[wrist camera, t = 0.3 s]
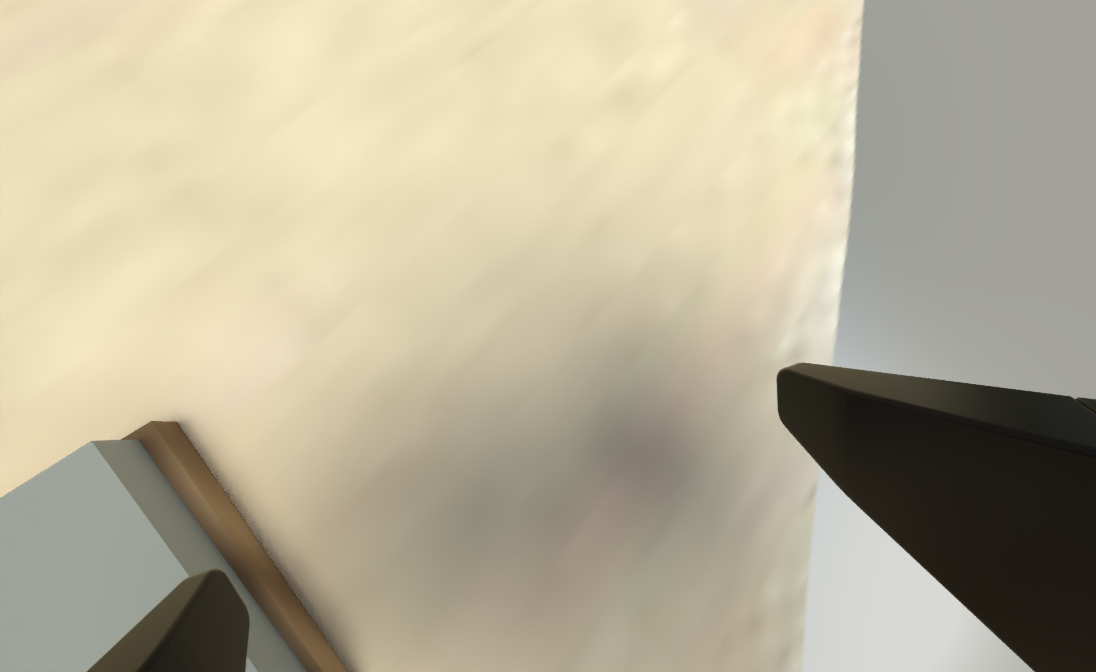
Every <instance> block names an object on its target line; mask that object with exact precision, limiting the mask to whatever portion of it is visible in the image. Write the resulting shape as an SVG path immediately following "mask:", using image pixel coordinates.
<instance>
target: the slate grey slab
mask: <svg viewBox="0 0 1096 672" xmlns="http://www.w3.org/2000/svg"><path fill="white" fill-rule="evenodd" d="M213 568H218V569H221V570H223V571H224V572H225V573H226V575H227V576H228V578H229V579H230V581H231V582H232V584H233V586H234V587H235V589H236V590H237V592H238V594H239V595H240V597H241V598H242V600H243V602H244V603H245V605H246V607H247V609H248V612H249V617H250V629H249V640H248V650H247V661H246V672H307V671H306V670H305V668H304V667H303V666H302V664H301V663H300V661H299V660H298V659H297V657H296V656H295V655H294V653H293V652H292V650H291V649H290V648H289V646H288V645H287V644H286V642H285V641H284V639H283V638H282V637H281V635H280V634H279V633H278V631H277V630H276V628H275V627H274V626H273V624H272V623H271V622H270V620H269V619H268V617H267V616H266V615H265V613H264V612H263V611H262V609H261V608H260V606H259V605H258V604H257V602H256V601H255V599H254V598H253V597H252V595H251V594H250V593H249V591H248V590H247V588H246V587H245V586H244V584H243V583H242V582H241V580H240V579H239V577H238V576H237V575H236V573H235V572H234V571H233V569H232V568H231V566H230V565H229V564H228V562H227V561H226V560H225V558H224V557H223V555H222V554H221V553H220V551H219V550H218V549H217V547H216V546H215V544H214V543H213V542H212V540H211V539H210V538H209V536H208V535H207V533H206V532H205V531H204V529H203V528H202V527H201V525H200V524H199V522H198V521H197V520H196V518H195V517H194V516H193V514H192V513H191V511H190V510H189V509H188V507H187V506H186V504H185V503H184V502H183V500H182V499H181V498H180V496H179V495H178V493H177V492H176V491H175V489H174V488H173V487H172V485H171V484H170V482H169V481H168V480H167V478H166V477H165V476H164V474H163V473H162V471H161V470H160V469H159V467H158V466H157V465H156V463H155V462H154V460H153V459H152V458H151V456H150V455H149V454H148V452H147V451H146V449H145V448H144V447H143V445H142V444H141V443H140V441H139V440H108V441H91V442H89V443H87V444H86V445H84V446H83V447H81V448H79V449H78V450H76V451H75V452H73V453H72V454H70V455H68V456H67V457H65V458H64V459H62V460H60V461H59V462H57V463H56V464H54V465H52V466H51V467H49V468H48V469H46V470H44V471H43V472H41V473H40V474H38V475H36V476H35V477H33V478H32V479H30V480H28V481H27V482H25V483H24V484H22V485H20V486H19V487H17V488H16V489H14V490H12V491H11V492H9V493H8V494H6V495H4V496H3V497H1V498H0V672H87V671H88V670H89V669H90V668H91V667H92V666H93V665H94V664H95V663H96V662H97V661H98V660H99V659H100V658H101V657H102V656H103V655H105V654H106V653H107V652H108V651H109V650H110V649H111V648H112V647H113V646H114V645H115V644H116V643H117V642H118V641H119V640H120V639H121V638H123V637H124V636H125V635H126V634H127V633H128V632H129V631H130V630H131V629H132V628H133V627H134V626H135V625H136V624H137V623H138V622H139V621H141V620H142V619H143V618H144V617H145V616H146V615H147V614H148V613H149V612H150V611H151V610H152V609H153V608H154V607H155V606H156V605H158V604H159V603H160V602H161V601H162V600H163V599H164V598H165V597H166V596H167V595H168V594H169V593H170V592H171V591H172V590H173V589H174V588H176V587H177V586H178V585H179V584H180V583H181V582H182V581H183V580H184V579H186V578H188V577H190V576H193V575H196V574H199V573H202V572H204V571H207V570H210V569H213Z"/></svg>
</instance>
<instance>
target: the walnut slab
mask: <svg viewBox="0 0 1096 672" xmlns="http://www.w3.org/2000/svg"><path fill="white" fill-rule="evenodd" d="M121 440H139V441H140V443H141V444H142V445H143V447H144V448H145V449H146V451H147V452H148V454H149V455H150V456H151V458H152V459H153V460H154V462H155V463H156V465H157V466H158V467H159V469H160V470H161V471H162V473H163V474H164V476H165V477H166V478H167V480H168V481H169V482H170V484H171V485H172V487H173V488H174V489H175V491H176V492H177V493H178V495H179V496H180V498H181V499H182V500H183V502H184V503H185V504H186V506H187V507H188V509H189V510H190V511H191V513H192V514H193V516H194V517H195V518H196V520H197V521H198V522H199V524H200V525H201V527H202V528H203V529H204V531H205V532H206V533H207V535H208V536H209V538H210V539H211V540H212V542H213V543H214V544H215V546H216V547H217V549H218V550H219V551H220V553H221V554H222V555H223V557H224V558H225V560H226V561H227V562H228V564H229V565H230V566H231V568H232V569H233V571H234V572H235V573H236V575H237V576H238V577H239V579H240V580H241V582H242V583H243V584H244V586H245V587H246V588H247V590H248V591H249V593H250V594H251V595H252V597H253V598H254V599H255V601H256V602H257V604H258V605H259V606H260V608H261V609H262V611H263V612H264V613H265V615H266V616H267V617H268V619H269V620H270V622H271V623H272V624H273V626H274V627H275V628H276V630H277V631H278V633H279V634H280V635H281V637H282V638H283V639H284V641H285V642H286V644H287V645H288V646H289V648H290V649H291V650H292V652H293V653H294V655H295V656H296V657H297V659H298V660H299V661H300V663H301V664H302V666H303V667H304V668H305V670H306V671H307V672H348V671H347V669H346V668H345V667H344V665H343V664H342V662H341V661H340V659H339V658H338V656H337V655H336V653H335V652H334V651H333V649H332V648H331V646H330V645H329V643H328V642H327V640H326V639H325V637H324V636H323V634H322V633H321V632H320V630H319V629H318V627H317V626H316V624H315V623H314V621H313V620H312V618H311V617H310V615H309V614H308V613H307V611H306V610H305V608H304V607H303V605H302V604H301V602H300V601H299V599H298V598H297V596H296V595H295V594H294V592H293V591H292V589H291V588H290V586H289V585H288V583H287V582H286V580H285V579H284V577H283V576H282V575H281V573H280V572H279V570H278V569H277V567H276V566H275V564H274V563H273V561H272V560H271V559H270V557H269V556H268V554H267V553H266V551H265V550H264V548H263V547H262V545H261V544H260V542H259V541H258V540H257V538H256V537H255V535H254V534H253V532H252V531H251V529H250V528H249V526H248V525H247V523H246V522H245V521H244V519H243V518H242V516H241V515H240V513H239V512H238V510H237V509H236V507H235V506H234V504H233V503H232V502H231V500H230V499H229V497H228V496H227V494H226V493H225V491H224V490H223V488H222V487H221V486H220V484H219V483H218V481H217V480H216V478H215V477H214V475H213V474H212V472H211V471H210V469H209V468H208V467H207V465H206V464H205V462H204V461H203V459H202V458H201V456H200V455H199V453H198V452H197V450H196V449H195V448H194V446H193V445H192V443H191V442H190V440H189V439H188V437H187V436H186V434H185V433H184V431H183V430H182V429H181V427H180V426H179V424H178V423H177V422H162V421H151V422H149V423H148V424H146V425H144V426H143V427H141V428H139V429H138V430H136V431H134V432H133V433H131V434H129V435H128V436H126V437H124V438H123V439H121Z"/></svg>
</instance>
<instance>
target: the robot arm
mask: <svg viewBox="0 0 1096 672" xmlns="http://www.w3.org/2000/svg"><path fill="white" fill-rule="evenodd" d="M777 401H778V413H779V417H780V419H781V421H782V423H783V424H784V426H785V427H786V428H787V429H788V430H789V432H790V433H791V434H792V435H793V436H794V437H795V438H796V440H797V441H798V442H799V443H800V444H801V445H802V446H803V447H804V449H805V450H806V451H807V452H808V453H809V454H810V455H811V457H812V458H813V459H814V460H815V461H816V462H817V463H818V464H819V466H820V467H821V468H822V469H823V470H824V471H825V472H826V474H827V475H828V476H829V477H830V478H831V479H832V480H833V481H834V483H836V485H837V486H838V487H839V488H840V489H841V490H842V491H843V492H844V493H845V494H846V495H847V496H848V497H849V498H850V499H851V500H852V501H853V502H854V503H855V504H856V505H857V506H858V507H859V508H860V509H862V510H863V511H864V512H865V513H866V514H867V515H868V516H869V517H870V518H871V519H872V520H873V521H874V522H875V523H876V524H877V525H879V526H880V527H881V528H882V529H883V530H884V531H885V532H886V533H887V534H888V535H889V536H890V537H891V538H892V539H893V540H895V541H896V542H897V543H898V544H899V545H900V546H901V547H902V548H903V549H904V550H905V551H906V552H907V553H909V554H910V555H911V556H912V557H913V558H914V559H915V560H916V561H917V562H918V563H919V564H920V565H921V566H922V567H923V568H924V569H926V570H927V571H928V572H929V573H930V574H931V575H932V576H933V577H934V578H935V579H936V580H937V581H938V582H939V583H941V584H942V585H943V586H944V587H945V588H946V589H947V590H948V591H949V592H950V593H951V594H952V595H953V596H954V597H955V598H957V599H958V600H959V601H960V602H961V603H962V604H963V605H964V606H965V607H966V608H967V609H968V610H969V611H971V612H972V613H973V614H974V615H975V616H976V617H977V618H978V619H979V620H980V621H981V622H982V623H983V624H984V625H985V626H986V627H988V628H989V629H990V630H991V631H992V632H993V633H994V634H995V635H996V636H997V637H998V638H999V639H1000V640H1002V642H1004V643H1005V644H1006V645H1007V646H1008V647H1009V648H1010V649H1011V650H1012V651H1013V652H1014V653H1015V654H1016V655H1017V656H1019V657H1020V658H1021V659H1022V660H1023V661H1024V662H1025V663H1026V664H1027V665H1028V666H1029V667H1030V668H1031V669H1032V670H1033V671H1035V672H1096V399H1088V398H1076V399H1074V398H1072V397H1070V396H1063V395H1055V394H1047V393H1040V392H1032V391H1023V390H1016V389H1008V388H1000V387H992V386H984V385H976V384H969V383H961V382H953V381H945V380H937V379H929V378H921V377H913V376H905V375H897V374H889V373H882V372H873V371H866V370H857V369H849V368H842V367H834V366H826V365H818V364H810V363H797V364H795V365H792V366H789V367H786V368H783V369H781V370H780V371H779V372H778V374H777ZM249 629H250V617H249V612H248V609H247V607H246V605H245V603H244V602H243V600H242V598H241V597H240V595H239V594H238V592H237V590H236V589H235V587H234V586H233V584H232V582H231V581H230V579H229V578H228V576H227V575H226V573H225V572H224V571H223V570H221V569H218V568H213V569H210V570H207V571H204V572H202V573H199V574H196V575H193V576H190V577H188V578H186V579H184V580H183V581H182V582H181V583H180V584H179V585H178V586H177V587H176V588H174V589H173V590H172V591H171V592H170V593H169V594H168V595H167V596H166V597H165V598H164V599H163V600H162V601H161V602H160V603H159V604H158V605H156V606H155V607H154V608H153V609H152V610H151V611H150V612H149V613H148V614H147V615H146V616H145V617H144V618H143V619H142V620H141V621H139V622H138V623H137V624H136V625H135V626H134V627H133V628H132V629H131V630H130V631H129V632H128V633H127V634H126V635H125V636H124V637H123V638H121V639H120V640H119V641H118V642H117V643H116V644H115V645H114V646H113V647H112V648H111V649H110V650H109V651H108V652H107V653H106V654H105V655H103V656H102V657H101V658H100V659H99V660H98V661H97V662H96V663H95V664H94V665H93V666H92V667H91V668H90V669H89V670H88V671H87V672H246V661H247V650H248V640H249Z"/></svg>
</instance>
